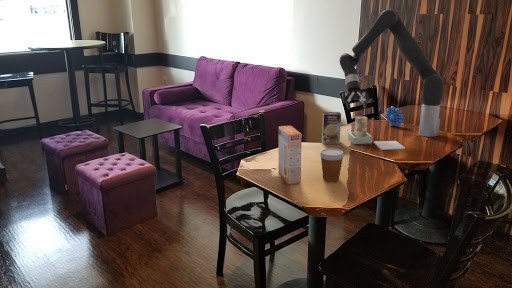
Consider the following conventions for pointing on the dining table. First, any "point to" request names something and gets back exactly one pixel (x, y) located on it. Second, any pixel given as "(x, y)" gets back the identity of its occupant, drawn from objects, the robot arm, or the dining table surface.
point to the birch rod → (360, 126)
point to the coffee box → (331, 127)
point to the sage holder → (359, 138)
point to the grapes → (394, 116)
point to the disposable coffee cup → (331, 164)
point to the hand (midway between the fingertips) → (357, 108)
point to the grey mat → (388, 145)
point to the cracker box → (290, 154)
